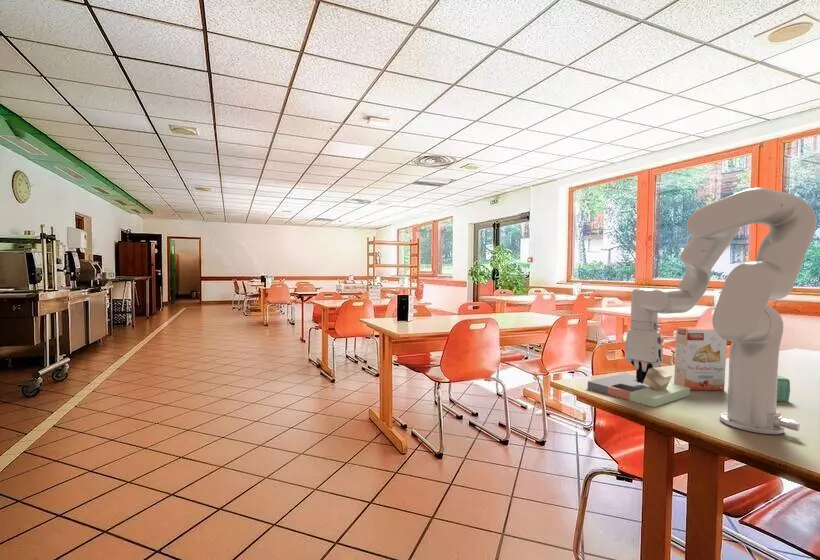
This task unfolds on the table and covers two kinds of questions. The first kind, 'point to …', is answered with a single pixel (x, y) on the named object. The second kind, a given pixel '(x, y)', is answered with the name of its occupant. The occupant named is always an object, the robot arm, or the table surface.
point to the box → (783, 389)
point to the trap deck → (638, 390)
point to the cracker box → (700, 359)
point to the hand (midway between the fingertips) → (641, 382)
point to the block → (657, 379)
